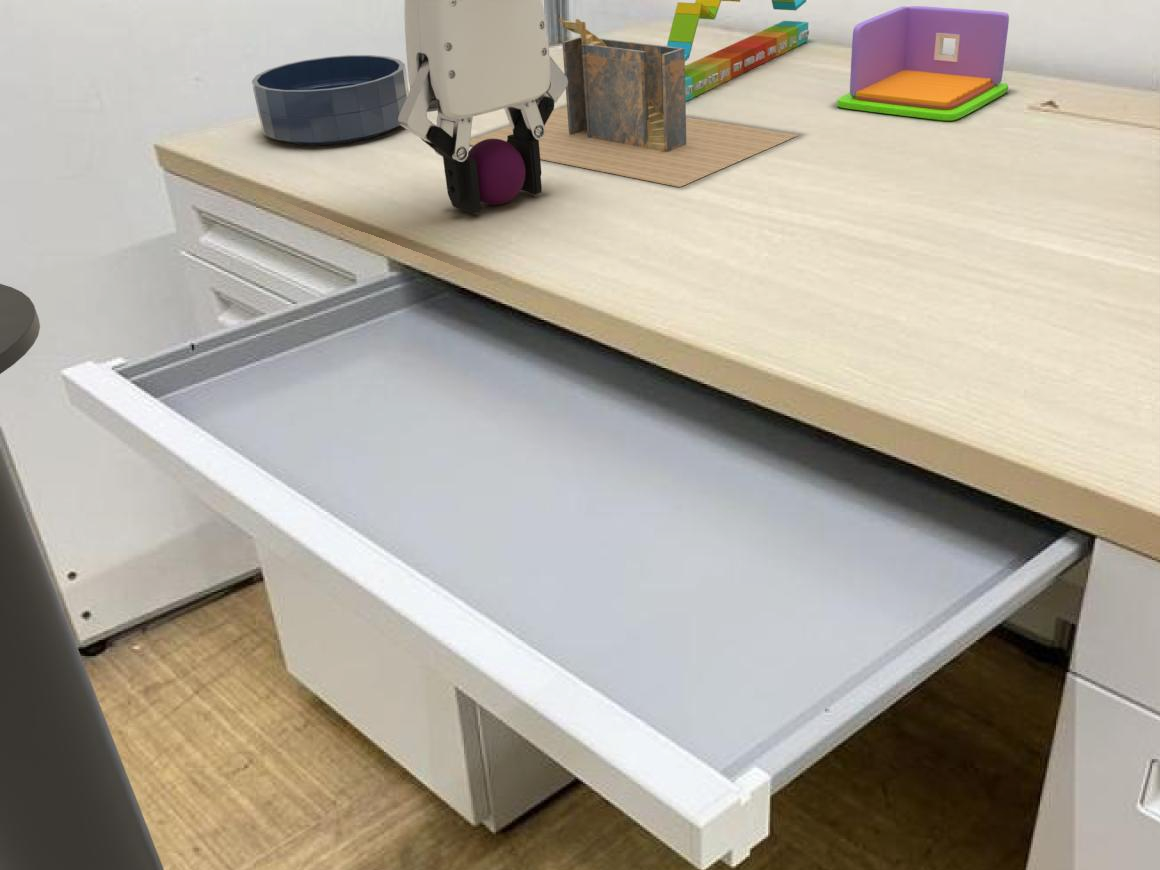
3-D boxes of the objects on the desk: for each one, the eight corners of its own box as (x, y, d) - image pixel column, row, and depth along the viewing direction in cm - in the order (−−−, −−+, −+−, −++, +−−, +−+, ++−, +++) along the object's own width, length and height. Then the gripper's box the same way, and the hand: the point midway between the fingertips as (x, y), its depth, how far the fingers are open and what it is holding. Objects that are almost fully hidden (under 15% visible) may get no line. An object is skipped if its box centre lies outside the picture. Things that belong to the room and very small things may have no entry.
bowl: (275, 158, 110) (263, 99, 107) (255, 122, 121) (243, 68, 118) (427, 133, 114) (419, 76, 111) (394, 101, 125) (386, 48, 122)
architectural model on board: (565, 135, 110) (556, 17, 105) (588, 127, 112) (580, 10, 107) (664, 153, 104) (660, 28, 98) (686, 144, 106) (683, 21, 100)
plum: (476, 217, 93) (468, 152, 91) (459, 200, 97) (451, 137, 94) (536, 206, 95) (530, 142, 92) (517, 189, 98) (511, 127, 96)
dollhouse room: (894, 78, 120) (900, 1, 116) (1012, 90, 113) (1022, 9, 109) (831, 107, 112) (835, 26, 108) (954, 122, 106) (962, 37, 102)
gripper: (532, -83, 92) (553, 165, 102) (333, -48, 83) (378, 218, 94) (597, -78, 87) (611, 182, 98) (393, -40, 79) (433, 240, 89)
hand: (496, 197), depth 96 cm, fingers open, 5 cm apart
